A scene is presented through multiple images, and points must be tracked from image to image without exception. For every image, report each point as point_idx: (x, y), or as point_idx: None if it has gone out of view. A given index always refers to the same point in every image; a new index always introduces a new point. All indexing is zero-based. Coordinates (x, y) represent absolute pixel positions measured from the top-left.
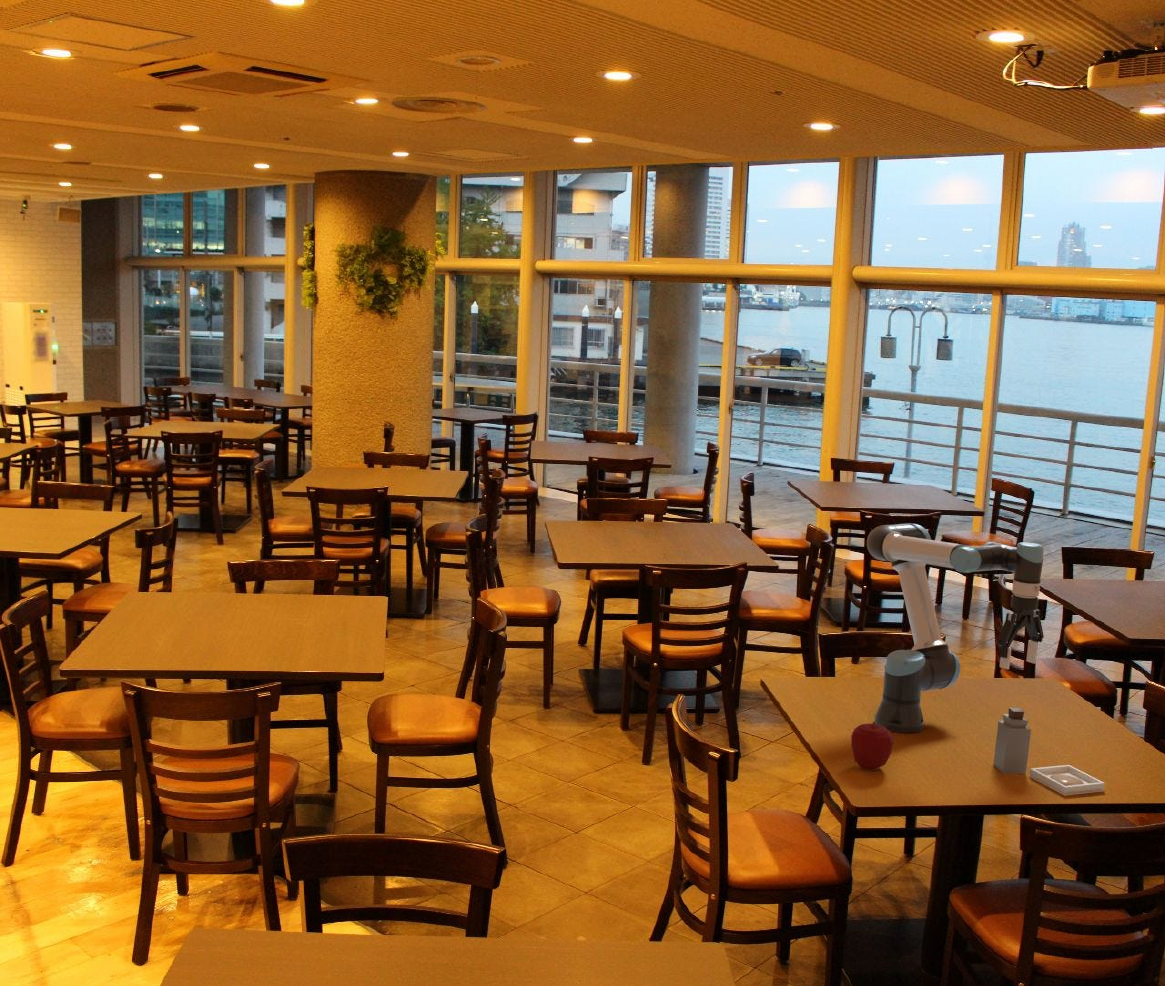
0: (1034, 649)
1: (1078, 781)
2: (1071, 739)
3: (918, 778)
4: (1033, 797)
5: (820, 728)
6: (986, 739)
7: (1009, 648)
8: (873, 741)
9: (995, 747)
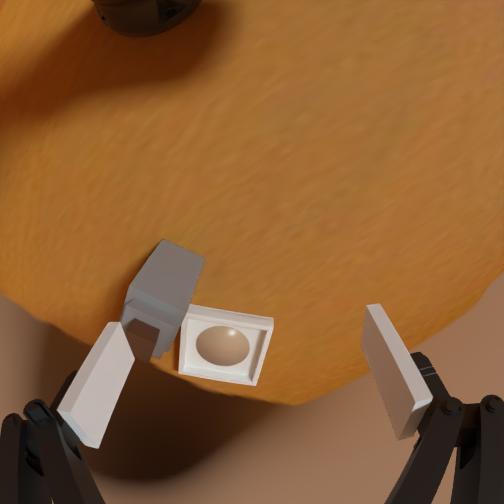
0: (385, 396)
1: (239, 356)
2: (444, 209)
3: (17, 233)
4: None
5: (21, 4)
6: (278, 119)
7: (85, 441)
8: None
9: (151, 254)
